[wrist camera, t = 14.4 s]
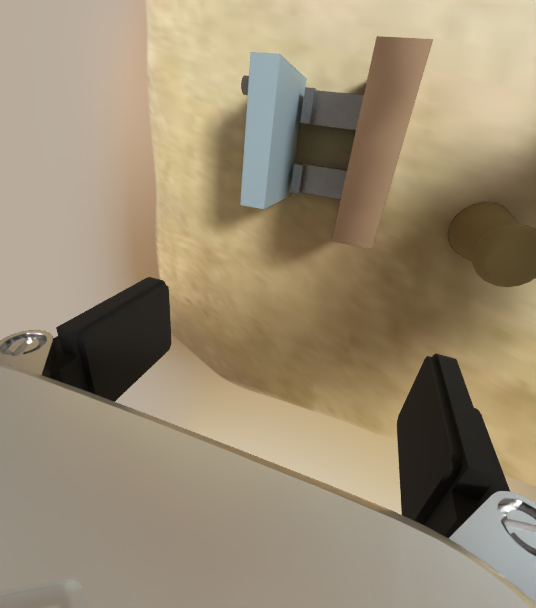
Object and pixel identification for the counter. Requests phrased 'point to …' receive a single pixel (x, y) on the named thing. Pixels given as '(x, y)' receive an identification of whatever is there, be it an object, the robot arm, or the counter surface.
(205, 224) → the counter surface
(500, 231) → the brown rounded elongated piece
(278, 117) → the block
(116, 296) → the robot arm
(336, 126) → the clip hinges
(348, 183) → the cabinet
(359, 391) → the counter surface
